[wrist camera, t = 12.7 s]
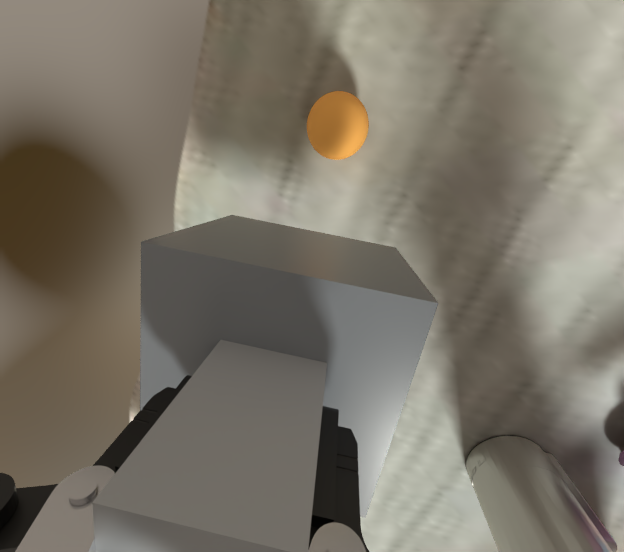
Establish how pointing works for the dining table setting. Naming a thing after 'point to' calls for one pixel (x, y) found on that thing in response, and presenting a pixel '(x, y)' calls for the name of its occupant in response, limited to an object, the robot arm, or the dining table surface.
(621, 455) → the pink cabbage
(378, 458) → the grey stepped block
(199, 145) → the dining table surface
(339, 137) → the ball
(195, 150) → the dining table surface
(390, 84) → the dining table surface
